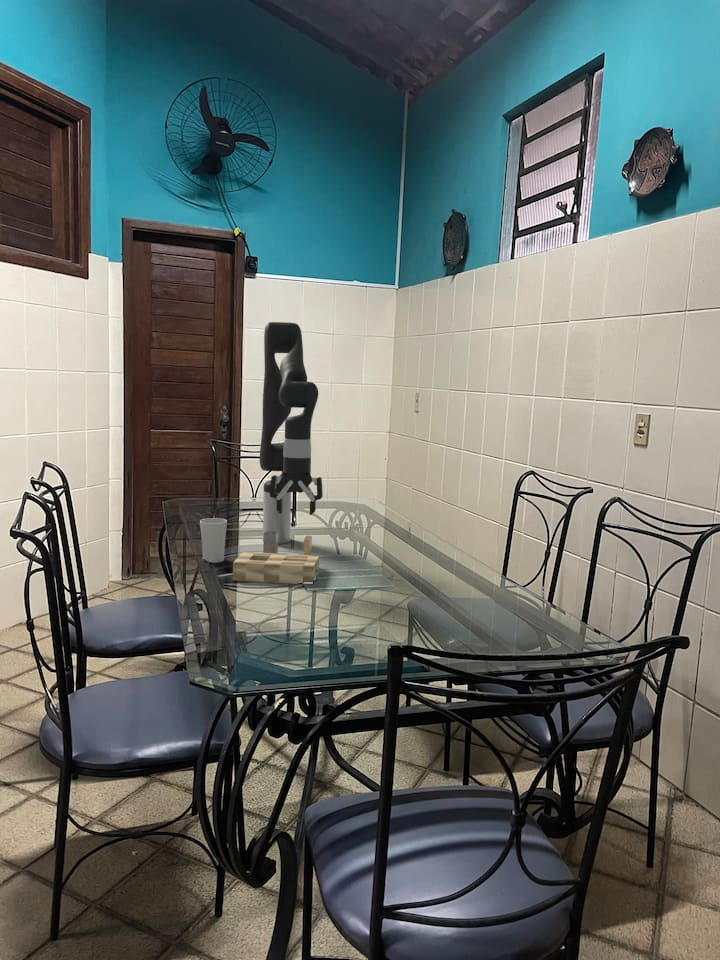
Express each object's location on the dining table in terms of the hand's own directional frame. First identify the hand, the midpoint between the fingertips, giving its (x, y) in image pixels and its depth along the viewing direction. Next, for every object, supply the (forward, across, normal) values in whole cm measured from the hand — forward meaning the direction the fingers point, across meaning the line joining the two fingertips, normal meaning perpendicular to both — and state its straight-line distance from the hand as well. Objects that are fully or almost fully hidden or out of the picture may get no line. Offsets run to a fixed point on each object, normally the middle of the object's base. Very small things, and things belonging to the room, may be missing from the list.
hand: (295, 513), depth 191 cm
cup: (+18, +27, -14) cm, 35 cm away
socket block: (+18, +5, 0) cm, 19 cm away
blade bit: (+18, -2, -11) cm, 21 cm away
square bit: (+18, +9, -11) cm, 23 cm away
